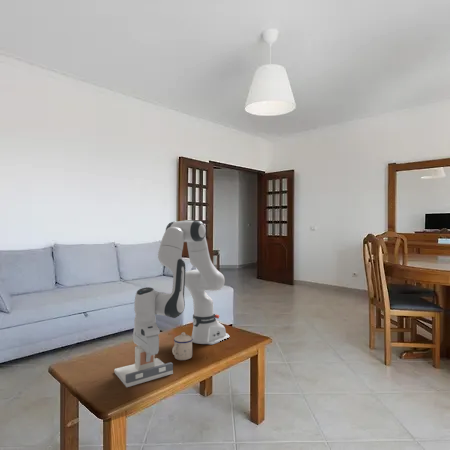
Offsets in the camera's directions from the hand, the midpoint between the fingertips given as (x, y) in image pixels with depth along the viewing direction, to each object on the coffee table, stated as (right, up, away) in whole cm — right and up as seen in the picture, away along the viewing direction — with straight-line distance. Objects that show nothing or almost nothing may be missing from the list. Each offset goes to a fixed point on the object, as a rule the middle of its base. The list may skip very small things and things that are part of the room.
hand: (145, 358), depth 135 cm
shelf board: (-1, -7, +1) cm, 7 cm away
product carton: (0, -4, 0) cm, 4 cm away
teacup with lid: (+13, -7, +17) cm, 23 cm away
